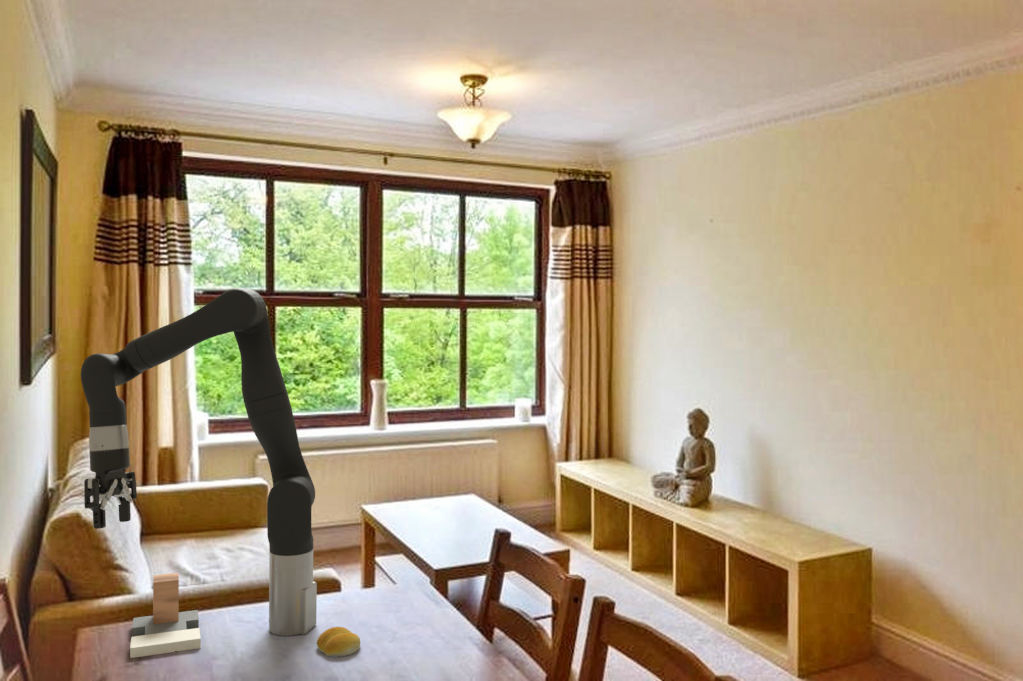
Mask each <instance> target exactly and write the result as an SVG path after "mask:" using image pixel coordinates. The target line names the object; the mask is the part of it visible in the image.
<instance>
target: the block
mask: <svg viewBox="0 0 1023 681" xmlns="http://www.w3.org/2000/svg"><path fill="white" fill-rule="evenodd" d="M179 577H180V576H179V572H174V573H165V574H156V575H155V574H154V575H153V581H152V585H153V586H152V600H153V601H152V606H153V607H152V608H153V609H152V616H153V624H161V623H168V622H176V621H179V612H180V611H179V609H180V608H179V606H180V605H179V604H180V603H179V600H180V599H179V598H180V597H179V596H180V594H179V590H180V589H179V587H180V586H179V583H180V582H179V581H180V580H179Z"/></svg>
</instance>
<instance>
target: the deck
mask: <svg viewBox="0 0 1023 681" xmlns="http://www.w3.org/2000/svg"><path fill="white" fill-rule="evenodd" d="M199 619H200V618H199V610H198V609H196V610H195V609H194V610H187V611H179V621H176V622H168V623H161V624H153V615H148V616H146V615H145V616H139V617H133V619H132V625H131V626H132V628H131V629H132V630H131V632H132V633H131V634H132V636H131V637H134V636H142V635H149V634H157V633H164V632H172V631H179V630H187V629H194V628H200V627H199V626H200V625H199V622H200V621H199Z"/></svg>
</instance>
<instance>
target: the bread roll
mask: <svg viewBox="0 0 1023 681" xmlns="http://www.w3.org/2000/svg"><path fill="white" fill-rule="evenodd" d="M316 645H317V649H318V650H319V651H320V652H322V653H324V655H325V656H327V657H330V656H333V657H332V658H334V656H336V657H335V658H337V656H340V657H347V655H348V656H350V655H353V654H355V653H356V652H357V651H358V650H359V648H360V647H361V638H360V636H358V634H357V633H353V632H352V631H351V630H349V629H348V628H346V627H343V626H333V627H330V628H327V629H326V630H325V631H323V632H322V633H321V634H320V635H319V636H318V638H317V640H316Z"/></svg>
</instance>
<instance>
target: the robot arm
mask: <svg viewBox="0 0 1023 681" xmlns="http://www.w3.org/2000/svg"><path fill="white" fill-rule="evenodd" d="M229 333H233V335H234V337H235V341H236V344H237V347H238V351H239V353H240V362H241V363H240V364H241V372H240V375H241V379H240V381H241V394H242V399H243V403H244V407H245V410H246V414H247V418H248V421H249V424H250V427H251V429H252V431H253V433H254V435H255V437H256V440H257V441H258V442H259V444H260V445H261V448H262V449H263V451H264V453H265V455H266V458H267V461H268V465H269V470H270V474H271V479H272V487H271V489H270V491H269V493H268V496H267V502H266V527H267V528H266V530H267V533H266V534H267V540H268V544H269V557H268V558H269V565H268V566H269V567H268V568H269V573H268V576H269V578H268V579H269V580H268V581H269V582H268V587H269V588H268V589H269V590H268V591H269V592H268V600H269V601H268V610H269V611H268V614H269V615H268V616H269V617H268V631H269V632H270V633H272V634H273V635H276V636H297V635H306V634H307V633H309V631H310V630H312V629H313V628H314V627H315V625H317V594H318V592H317V589H318V587H317V585H318V584H317V581H314V535H313V530H312V506H313V505H314V503H315V498H316V488H315V485H314V482H313V479H312V477H311V475H310V473H309V470H308V466H307V465H306V462H305V458H304V456H303V454H302V451H301V448H300V443H299V438H298V432H297V428H296V423H295V422H296V421H295V418H294V413H293V408H292V405H291V404H292V403H291V400H290V397H289V394H288V390H287V387H286V382H285V381H284V377H283V373H282V371H281V367H280V364H279V361H278V358H277V355H276V352H275V349H274V345H273V344H274V343H273V339H272V334H271V328H270V321H269V314H268V308H267V305H266V302H265V300H264V298H263V297H262V295H260V293H258V292H257V291H256V290H254V289H251V288H245V287H244V288H242V287H234V288H230V289H228V290H225V291H224V292H223V293H221V294H219V295H218V296H217V297H215V298H214V299H213V300H211V301H209V302H208V303H206V304H205V305H203V306H202V307H200V308H199V309H197V310H195V311H193V312H192V313H190V314H188V315H186V316H184V317H182V318H180V319H178V320H175V321H173V322H170V323H169V324H166V325H164V326H162V327H159V328H157V329H155V330H152V331H150V332H148V333H145V334H143V335H141V336H138V337H137V338H135V339H132V340H131V341H129V342H127V344H126V345H125V348H124V349H122V350H120V351H117V352H114V353H110V354H109V353H108V354H107V353H99V352H98V353H94V354H93V353H92V354H91V355H89V356H87V357H86V358H85V359H84V361H83V362H82V365H81V369H80V381H81V385H82V389H83V393H84V396H85V400H86V403H87V405H88V413H89V414H88V416H89V434H88V435H89V436H88V437H89V438H88V448H89V468H90V469H89V470H90V471H91V472H92V473H95V476H94V477H93V478H85V479H84V486H83V487H84V490H83V491H84V495H83V496H84V503H83V504H84V509H90V511H92V522H93V523H92V524H93V528H94V529H96V530H97V529H99V530H100V529H104V528H105V529H106V526H107V524H106V523H107V522H106V521H107V520H106V519H107V518H106V509H105V508H106V505H107V503H108V501H110V500H111V498H112V497H114V498H116V500H117V502H118V517H119V518H118V521H119V522H120V523H124V522H130V521H131V516H132V514H131V513H132V512H131V503H132V502H133V500H136V499H137V497H138V493H137V482H136V479H137V478H136V472H135V471H125V470H127V469H129V468H130V467H131V463H130V445H129V444H130V442H129V440H130V439H129V431H128V427H127V426H128V425H127V408H126V402H125V401H124V400H123V399H122V398H120V397H119V396H118V393H117V387H119V386H121V385H124V384H126V383H128V382H131V381H132V380H133V379H135V378H136V377H138V376H140V375H141V374H143V373H144V372H146V371H147V370H150V369H152V368H155V367H157V366H159V365H162V364H164V363H166V362H168V361H169V360H172V359H174V358H176V357H177V356H180V355H181V354H183V353H184V352H186V351H188V350H190V349H191V348H192V347H194V346H196V345H198V344H200V343H202V342H204V341H206V340H209V339H211V338H215V337H218V336H221V335H225V334H229ZM130 492H131V493H130ZM91 498H92V501H91Z"/></svg>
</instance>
